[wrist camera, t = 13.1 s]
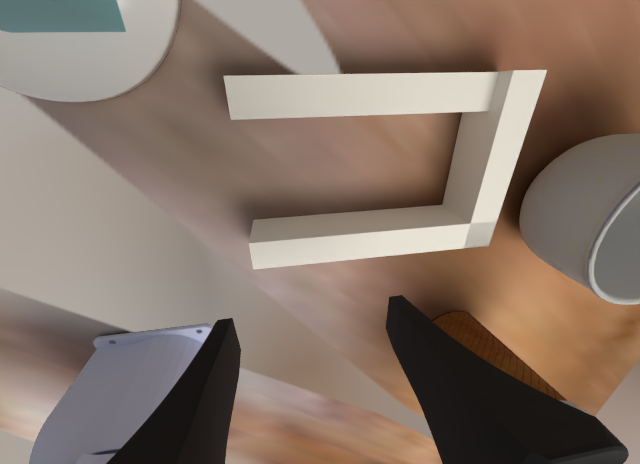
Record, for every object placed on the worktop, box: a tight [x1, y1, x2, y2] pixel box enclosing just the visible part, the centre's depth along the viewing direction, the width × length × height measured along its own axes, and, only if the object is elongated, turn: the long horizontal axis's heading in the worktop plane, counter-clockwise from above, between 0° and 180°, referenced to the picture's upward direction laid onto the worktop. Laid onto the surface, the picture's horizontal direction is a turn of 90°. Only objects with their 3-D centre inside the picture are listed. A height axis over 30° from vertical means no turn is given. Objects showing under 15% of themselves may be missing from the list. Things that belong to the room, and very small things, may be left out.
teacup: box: [519, 133, 640, 305], centre depth 19 cm, size 14×11×8 cm
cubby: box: [224, 70, 547, 270], centre depth 17 cm, size 17×11×4 cm, turn 91°
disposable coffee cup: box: [432, 312, 591, 415], centre depth 23 cm, size 10×10×12 cm
